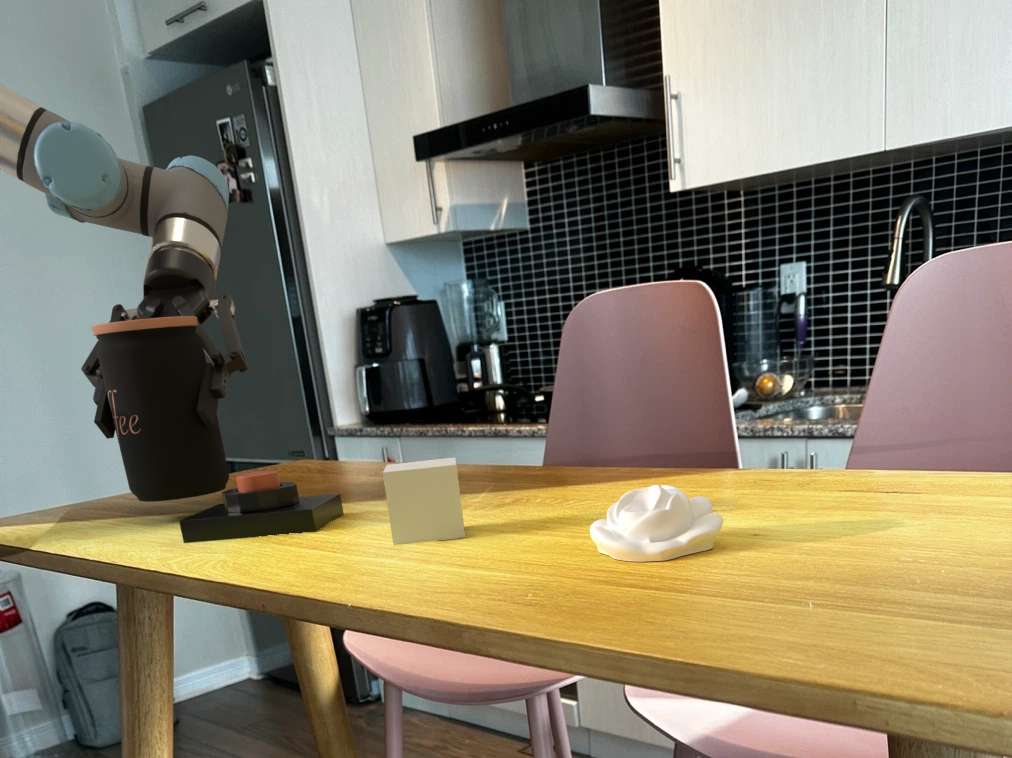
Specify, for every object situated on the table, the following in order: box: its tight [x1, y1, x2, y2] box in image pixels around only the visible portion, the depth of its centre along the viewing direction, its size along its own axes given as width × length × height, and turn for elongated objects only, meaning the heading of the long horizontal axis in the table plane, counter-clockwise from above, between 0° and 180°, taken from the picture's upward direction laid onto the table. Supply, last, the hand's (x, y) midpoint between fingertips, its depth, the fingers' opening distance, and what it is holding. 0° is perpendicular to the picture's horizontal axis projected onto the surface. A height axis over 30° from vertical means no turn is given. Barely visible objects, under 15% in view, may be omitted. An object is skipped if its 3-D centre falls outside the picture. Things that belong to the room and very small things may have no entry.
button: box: [235, 470, 280, 492], centre depth 100 cm, size 4×4×2 cm
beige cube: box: [382, 457, 466, 546], centre depth 87 cm, size 6×6×6 cm
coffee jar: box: [91, 316, 230, 503], centre depth 111 cm, size 11×11×18 cm
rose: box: [589, 484, 724, 563], centre depth 73 cm, size 10×4×10 cm
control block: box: [178, 481, 344, 544], centre depth 101 cm, size 13×10×4 cm
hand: (154, 424), depth 109 cm, fingers closed on coffee jar, 11 cm apart
